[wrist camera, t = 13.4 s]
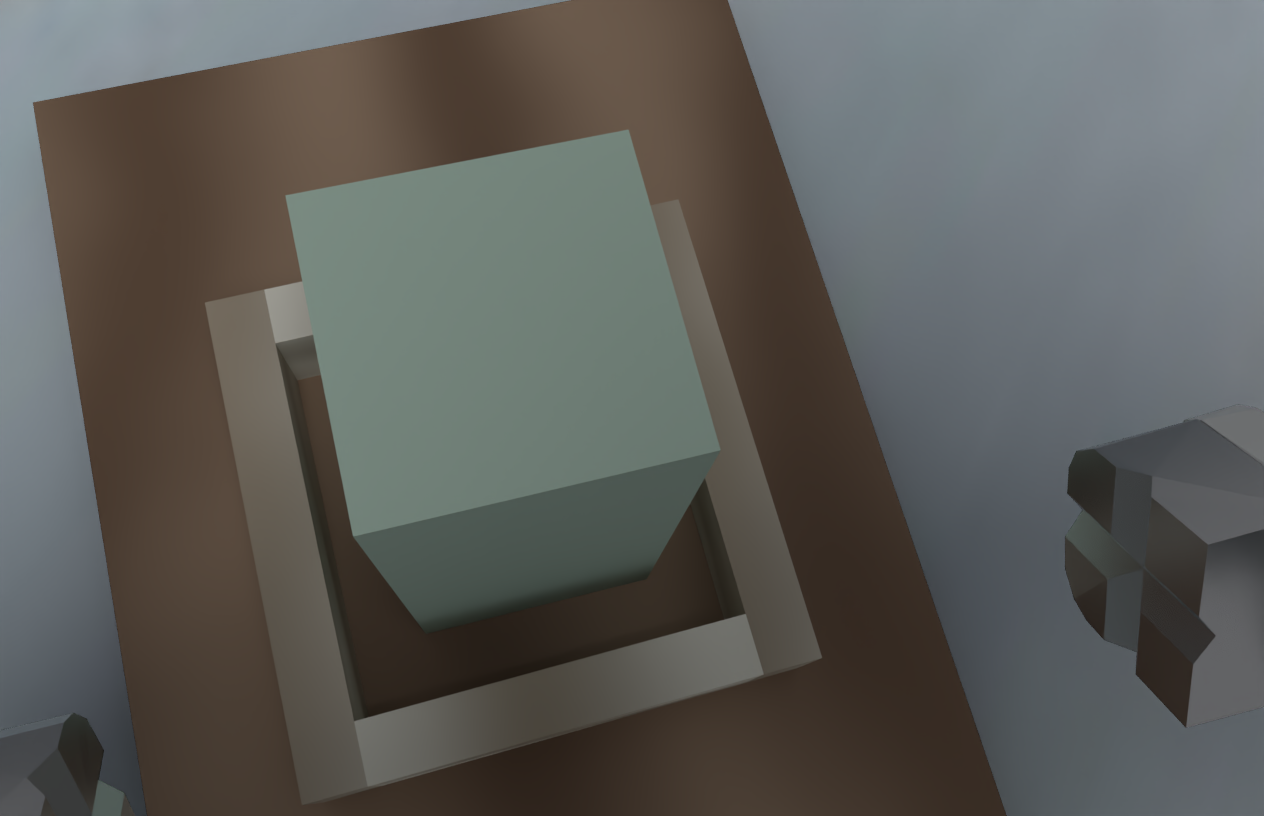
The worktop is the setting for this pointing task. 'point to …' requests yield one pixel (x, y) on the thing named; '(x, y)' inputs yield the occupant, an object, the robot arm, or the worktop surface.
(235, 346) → the walnut board
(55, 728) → the robot arm
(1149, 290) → the worktop surface
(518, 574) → the green block
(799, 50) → the worktop surface
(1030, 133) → the worktop surface
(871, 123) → the worktop surface
